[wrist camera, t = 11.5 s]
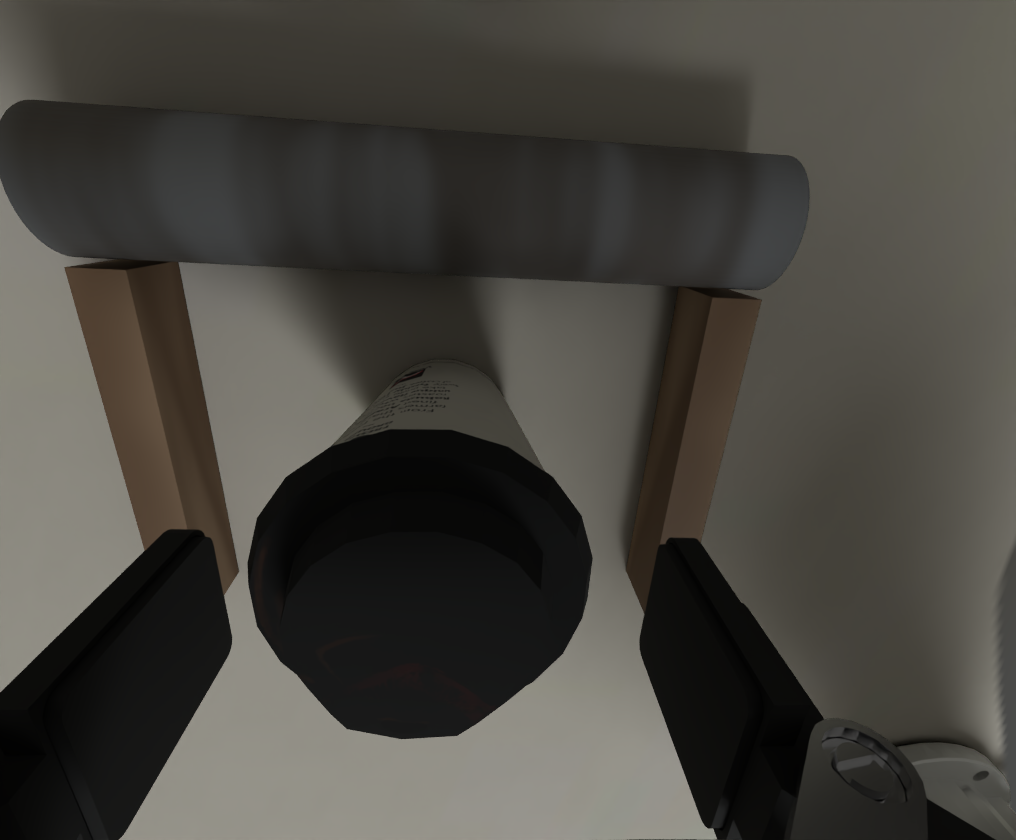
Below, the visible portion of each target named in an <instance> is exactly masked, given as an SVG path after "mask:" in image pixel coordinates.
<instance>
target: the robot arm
mask: <svg viewBox="0 0 1016 840" xmlns="http://www.w3.org/2000/svg"><path fill="white" fill-rule="evenodd" d="M231 645H232V634H231V629H230V624H229V619H228V614H227V609H226V604H225V599H224V594H223V589H222V584H221V579H220V574H219V569H218V564H217V559H216V554H215V549H214V544H213V541H212V539H211V538H210V537H205V535H204V533H203V532H202V531H201V530H199V529H169V530H167V531H165V532H164V533H163V534H162V535H161V536H160V537H158V538H157V539H156V540H155V541H154V542H153V543H152V544H151V545H150V546H149V547H148V548H147V549H146V550H145V551H144V552H143V553H142V554H141V555H140V556H139V557H138V558H137V559H136V560H135V561H134V562H133V563H132V564H131V565H130V566H129V567H128V568H127V569H126V570H125V571H124V572H123V573H122V574H121V575H120V576H119V577H118V578H117V579H116V580H115V581H114V582H113V583H112V584H111V585H110V586H109V587H107V588H106V589H105V590H104V591H103V592H102V593H101V594H100V595H99V596H98V597H97V598H96V599H95V600H94V601H93V602H92V603H91V604H90V605H89V606H88V607H87V608H86V609H85V610H84V611H83V612H82V613H81V614H80V615H79V616H78V617H77V618H76V619H75V620H74V621H73V622H72V623H71V624H70V625H69V626H68V627H67V628H66V629H65V630H64V631H63V632H62V633H61V634H60V635H59V636H58V637H56V638H55V639H54V640H53V641H52V642H51V643H50V644H49V645H48V646H47V647H46V648H45V649H44V650H43V651H42V652H41V653H40V654H39V655H38V656H37V657H36V658H35V659H34V660H33V661H32V662H31V663H30V664H29V665H28V666H27V667H26V668H25V669H24V670H23V671H22V672H21V673H20V674H19V675H18V676H17V677H16V678H15V679H14V680H13V681H12V682H11V683H10V684H9V685H8V686H6V687H5V688H4V689H3V690H2V691H1V692H0V840H119V839H120V838H121V837H122V836H123V835H124V833H125V832H126V830H127V829H128V827H129V825H130V823H131V822H132V820H133V818H134V817H135V815H136V813H137V811H138V810H139V808H140V806H141V805H142V803H143V801H144V799H145V798H146V796H147V794H148V793H149V791H150V789H151V787H152V786H153V784H154V782H155V781H156V779H157V777H158V775H159V774H160V772H161V770H162V769H163V767H164V765H165V763H166V762H167V760H168V758H169V757H170V755H171V753H172V751H173V750H174V748H175V746H176V745H177V743H178V741H179V739H180V738H181V736H182V734H183V733H184V731H185V729H186V727H187V726H188V724H189V722H190V720H191V719H192V717H193V715H194V714H195V712H196V710H197V708H198V707H199V705H200V703H201V702H202V700H203V698H204V696H205V695H206V693H207V691H208V690H209V688H210V686H211V684H212V683H213V681H214V679H215V678H216V676H217V674H218V672H219V671H220V669H221V667H222V666H223V664H224V662H225V660H226V659H227V657H228V655H229V652H230V649H231ZM640 652H641V656H642V659H643V662H644V665H645V667H646V670H647V673H648V676H649V678H650V681H651V684H652V686H653V689H654V692H655V695H656V697H657V700H658V703H659V706H660V708H661V711H662V714H663V716H664V719H665V722H666V725H667V727H668V730H669V733H670V736H671V738H672V741H673V744H674V746H675V749H676V752H677V755H678V757H679V760H680V763H681V766H682V768H683V771H684V774H685V776H686V779H687V782H688V785H689V787H690V790H691V793H692V796H693V798H694V801H695V804H696V807H697V809H698V812H699V815H700V817H701V820H702V822H703V823H704V825H705V826H706V827H707V828H713V829H714V832H715V834H716V837H717V839H718V840H1016V813H1015V812H1014V811H1013V810H1012V809H1011V808H1010V806H1009V803H1010V798H1011V795H1010V787H1009V784H1008V782H1007V780H1006V778H1005V776H1004V775H1003V774H1002V773H1001V772H1000V771H999V770H998V769H997V768H996V767H995V766H994V764H993V763H992V762H991V761H990V760H989V759H988V758H987V757H986V756H984V755H983V754H981V753H979V752H978V751H976V750H974V749H971V748H968V747H965V746H962V745H958V744H950V743H941V742H934V743H917V744H910V745H904V746H898V747H895V746H894V745H893V744H892V743H891V742H889V741H888V740H887V739H886V738H884V737H883V736H881V735H880V734H878V733H876V732H875V731H873V730H871V729H870V728H868V727H866V726H863V725H861V724H858V723H856V722H853V721H850V720H844V719H839V718H832V719H824V718H823V717H822V715H821V714H820V712H819V711H818V709H817V708H816V707H815V705H814V704H813V702H812V701H811V699H810V698H809V696H808V695H807V693H806V692H805V690H804V689H803V688H802V686H801V685H800V683H799V682H798V680H797V679H796V677H795V676H794V674H793V673H792V672H791V670H790V669H789V667H788V666H787V664H786V663H785V661H784V660H783V658H782V657H781V656H780V654H779V653H778V651H777V650H776V648H775V647H774V645H773V644H772V642H771V641H770V640H769V638H768V637H767V635H766V634H765V632H764V631H763V629H762V628H761V626H760V625H759V624H758V622H757V621H756V619H755V618H754V616H753V615H752V613H751V612H750V610H749V609H748V608H747V607H746V606H745V605H744V604H743V603H741V602H740V600H739V599H738V597H737V596H736V595H735V593H734V592H733V590H732V589H731V587H730V586H729V584H728V583H727V581H726V580H725V578H724V577H723V575H722V574H721V572H720V571H719V569H718V568H717V567H716V565H715V564H714V562H713V561H712V559H711V558H710V556H709V555H708V553H707V552H706V550H705V549H704V547H703V546H702V544H701V543H700V542H699V540H698V539H696V538H672V537H670V538H668V540H667V541H666V544H661V545H659V547H658V550H657V555H656V560H655V565H654V570H653V575H652V580H651V585H650V590H649V595H648V600H647V604H646V609H645V614H644V619H643V624H642V629H641V634H640ZM629 840H695V839H629Z"/></svg>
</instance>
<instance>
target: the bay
mask: <svg viewBox="0 0 1016 840" xmlns="http://www.w3.org/2000/svg"><path fill="white" fill-rule="evenodd" d="M0 178H1V181H2V184H3V187H4V190H5V192H6V194H7V196H8V198H9V201H10V203H11V204H12V206H13V208H14V210H15V211H16V213H17V215H18V216H19V217H20V219H21V220H22V222H23V223H24V224H25V226H26V227H27V228H28V229H29V230H30V231H31V232H32V233H33V234H34V235H35V236H36V237H37V238H38V239H39V240H40V241H41V242H42V243H44V244H45V245H46V246H48V247H49V248H51V249H53V250H54V251H56V252H59V253H61V254H64V255H67V256H72V257H86V258H107V259H118V260H111V261H104V262H97V263H90V264H84V265H77V266H70V267H64V268H65V271H66V275H67V278H68V282H69V285H70V289H71V292H72V296H73V299H74V303H75V306H76V310H77V313H78V317H79V320H80V324H81V327H82V331H83V335H84V338H85V342H86V345H87V349H88V352H89V356H90V359H91V363H92V366H93V370H94V373H95V377H96V380H97V384H98V387H99V391H100V394H101V398H102V402H103V405H104V409H105V412H106V416H107V419H108V423H109V426H110V430H111V433H112V437H113V440H114V444H115V447H116V451H117V454H118V458H119V461H120V465H121V468H122V472H123V476H124V479H125V483H126V486H127V490H128V493H129V497H130V500H131V504H132V507H133V511H134V514H135V518H136V521H137V525H138V528H139V532H140V535H141V539H142V543H143V546H144V550H146V549H147V548H148V547H149V546H150V545H151V544H152V543H153V542H154V541H155V540H156V539H157V538H158V537H160V536H161V535H162V534H163V533H164V532H165V531H167V530H169V529H199V530H201V531H202V532H203V533H204V535H205V537H210V538H211V539H212V541H213V544H214V549H215V554H216V559H217V564H218V569H219V574H220V579H221V584H222V589H223V594H225V593H226V591H227V590H228V588H229V587H230V585H231V583H232V582H233V580H234V579H235V577H236V576H237V574H238V572H239V570H238V565H237V560H236V555H235V550H234V545H233V540H232V535H231V529H230V524H229V519H228V514H227V509H226V504H225V499H224V494H223V489H222V484H221V479H220V473H219V468H218V463H217V458H216V453H215V448H214V443H213V438H212V433H211V428H210V423H209V418H208V412H207V407H206V402H205V397H204V392H203V387H202V382H201V377H200V372H199V367H198V362H197V356H196V351H195V346H194V341H193V336H192V331H191V326H190V321H189V316H188V311H187V306H186V300H185V295H184V290H183V285H182V280H181V275H180V270H179V265H178V262H189V263H210V264H230V265H251V266H271V267H292V268H313V269H333V270H354V271H374V272H395V273H416V274H436V275H457V276H477V277H498V278H518V279H539V280H560V281H580V282H601V283H621V284H642V285H663V286H679V289H678V294H677V299H676V305H675V310H674V315H673V321H672V326H671V332H670V337H669V342H668V348H667V353H666V358H665V364H664V369H663V374H662V380H661V385H660V391H659V396H658V401H657V407H656V412H655V417H654V423H653V428H652V434H651V439H650V444H649V450H648V455H647V460H646V466H645V471H644V477H643V482H642V487H641V493H640V498H639V503H638V509H637V514H636V520H635V525H634V530H633V536H632V541H631V546H630V552H629V557H628V562H627V568H626V572H627V574H628V576H629V579H630V581H631V583H632V586H633V588H634V590H635V593H636V595H637V597H638V600H639V602H640V604H641V607H642V609H643V611H644V614H645V609H646V604H647V600H648V595H649V590H650V585H651V580H652V575H653V570H654V565H655V560H656V555H657V550H658V547H659V545H661V544H666V541H667V540H668V538H670V537H672V538H696V539H698V540H699V542H701V538H702V534H703V531H704V527H705V523H706V519H707V515H708V511H709V507H710V503H711V499H712V495H713V491H714V487H715V483H716V479H717V475H718V471H719V467H720V463H721V459H722V455H723V451H724V447H725V444H726V440H727V436H728V432H729V428H730V424H731V420H732V416H733V412H734V408H735V404H736V400H737V396H738V392H739V388H740V384H741V380H742V376H743V372H744V368H745V364H746V360H747V356H748V353H749V349H750V345H751V341H752V337H753V333H754V329H755V325H756V321H757V317H758V313H759V309H760V305H761V301H762V300H760V299H757V298H754V297H751V296H748V295H745V294H741V293H738V292H735V291H732V290H729V289H745V290H760V289H763V288H766V287H768V286H770V285H771V284H772V283H774V282H775V281H776V280H777V279H778V278H779V277H780V276H781V275H782V274H783V272H784V271H785V270H786V268H787V267H788V265H789V264H790V262H791V261H792V259H793V257H794V255H795V253H796V251H797V249H798V247H799V244H800V242H801V239H802V236H803V233H804V230H805V226H806V222H807V217H808V211H809V199H810V197H809V182H808V178H807V174H806V171H805V169H804V167H803V165H802V164H801V163H800V162H799V161H798V160H797V159H796V158H794V157H792V156H787V155H773V154H760V153H746V152H733V151H719V150H706V149H692V148H678V147H665V146H651V145H638V144H624V143H611V142H597V141H584V140H570V139H557V138H543V137H529V136H516V135H502V134H489V133H475V132H462V131H448V130H435V129H421V128H408V127H394V126H381V125H367V124H353V123H340V122H326V121H313V120H299V119H286V118H272V117H259V116H245V115H232V114H218V113H204V112H191V111H177V110H164V109H150V108H137V107H123V106H110V105H96V104H83V103H69V102H56V101H42V100H23V101H20V102H17V103H15V104H14V105H12V106H11V107H10V108H9V109H7V110H6V112H5V113H4V115H3V116H2V118H1V120H0Z"/></svg>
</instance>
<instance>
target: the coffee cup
mask: <svg viewBox="0 0 1016 840" xmlns="http://www.w3.org/2000/svg"><path fill="white" fill-rule="evenodd" d="M592 559H593V558H592V554H591V550H590V546H589V542H588V539H587V535H586V531H585V527H584V523H583V520H582V516H581V514H580V513H579V512H578V510H577V509H576V508H575V506H574V505H573V504H572V502H571V501H570V500H569V498H568V497H567V495H566V494H565V493H564V491H563V490H562V489H561V487H560V486H559V485H558V483H557V482H556V481H555V479H554V478H553V477H552V476H551V475H549V474H548V473H546V472H545V471H544V469H543V467H542V465H541V464H540V462H539V460H538V458H537V456H536V455H535V453H534V451H533V449H532V447H531V446H530V444H529V442H528V440H527V438H526V437H525V435H524V433H523V431H522V429H521V428H520V426H519V424H518V422H517V420H516V419H515V417H514V415H513V413H512V411H511V410H510V408H509V406H508V404H507V402H506V401H505V399H504V397H503V395H502V393H501V392H500V391H499V389H498V388H497V387H496V385H495V384H494V382H493V381H492V380H491V378H489V377H488V376H487V375H485V374H484V373H483V372H481V371H480V370H478V369H477V368H476V367H474V366H471V365H468V364H465V363H462V362H459V361H456V360H430V361H427V362H423V363H420V364H417V365H414V366H412V367H411V368H409V369H408V370H406V371H405V372H403V373H402V374H401V375H399V376H398V377H397V378H396V379H395V380H394V381H393V382H392V383H391V384H390V385H389V386H388V387H387V388H386V389H385V390H384V391H383V392H382V393H381V394H380V396H379V397H378V398H377V399H376V400H375V401H374V402H373V403H372V404H371V405H370V406H369V407H368V408H367V409H366V410H365V411H364V412H363V413H362V414H361V416H360V417H359V418H358V419H357V420H356V421H355V422H354V423H353V424H352V425H351V426H350V427H349V428H348V429H347V430H346V431H345V432H344V433H343V434H342V436H341V437H340V438H339V439H338V440H337V441H336V442H335V443H334V444H333V445H332V446H331V447H330V448H328V449H327V450H325V451H324V452H322V453H321V454H319V455H318V456H316V457H315V458H313V459H312V460H310V461H309V462H308V463H306V464H305V465H303V466H302V467H300V468H299V469H297V470H296V471H294V472H293V473H291V474H290V475H288V476H287V477H286V478H285V479H284V481H283V482H282V483H281V485H280V486H279V488H278V489H277V491H276V492H275V493H274V495H273V496H272V498H271V499H270V501H269V502H268V503H267V505H266V506H265V508H264V509H263V510H262V512H261V513H260V515H259V516H258V518H257V521H256V526H255V530H254V535H253V540H252V545H251V549H250V554H249V559H248V583H249V590H250V594H251V599H252V604H253V609H254V613H255V618H256V623H257V627H258V628H259V630H260V631H261V633H262V634H263V636H264V637H265V639H266V640H267V642H268V643H269V645H270V646H271V648H272V649H273V651H274V652H275V654H276V655H277V657H278V658H279V660H280V661H281V662H282V663H283V664H284V665H285V666H287V667H288V668H289V669H290V670H292V671H293V672H294V673H295V674H297V675H298V677H299V678H300V679H301V680H302V682H303V683H304V684H305V685H306V687H307V688H308V689H309V690H310V691H311V692H312V694H313V695H314V696H315V697H316V698H317V699H318V700H319V701H320V703H321V704H322V705H323V706H324V707H325V708H326V709H327V710H328V712H329V713H330V714H331V715H332V716H333V717H334V718H336V719H337V720H338V721H339V722H340V723H341V724H342V725H343V726H344V727H346V728H347V729H350V730H356V731H361V732H366V733H372V734H377V735H382V736H388V737H393V738H399V739H411V738H428V737H445V736H457V735H459V734H461V733H462V732H464V731H466V730H467V729H469V728H470V727H472V726H474V725H475V724H477V723H478V722H480V721H481V720H482V719H484V718H485V717H486V716H488V715H489V714H490V713H492V712H493V711H495V710H496V709H497V708H499V707H500V706H501V705H503V704H504V703H505V702H507V701H508V700H509V699H510V698H511V697H513V696H514V695H515V694H516V693H518V692H519V691H520V690H521V689H523V688H524V687H525V686H526V685H528V684H530V683H532V682H533V681H534V680H535V679H536V678H538V677H539V676H540V675H541V674H542V673H543V672H544V671H545V670H546V669H547V668H548V667H549V666H550V665H551V664H552V663H553V662H554V661H556V660H557V659H558V658H559V657H560V656H561V655H562V654H563V652H564V651H565V649H566V647H567V645H568V643H569V641H570V640H571V638H572V636H573V634H574V632H575V630H576V629H577V627H578V625H579V623H580V621H581V619H582V616H583V613H584V609H585V605H586V601H587V597H588V589H589V581H590V574H591V566H592Z"/></svg>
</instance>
